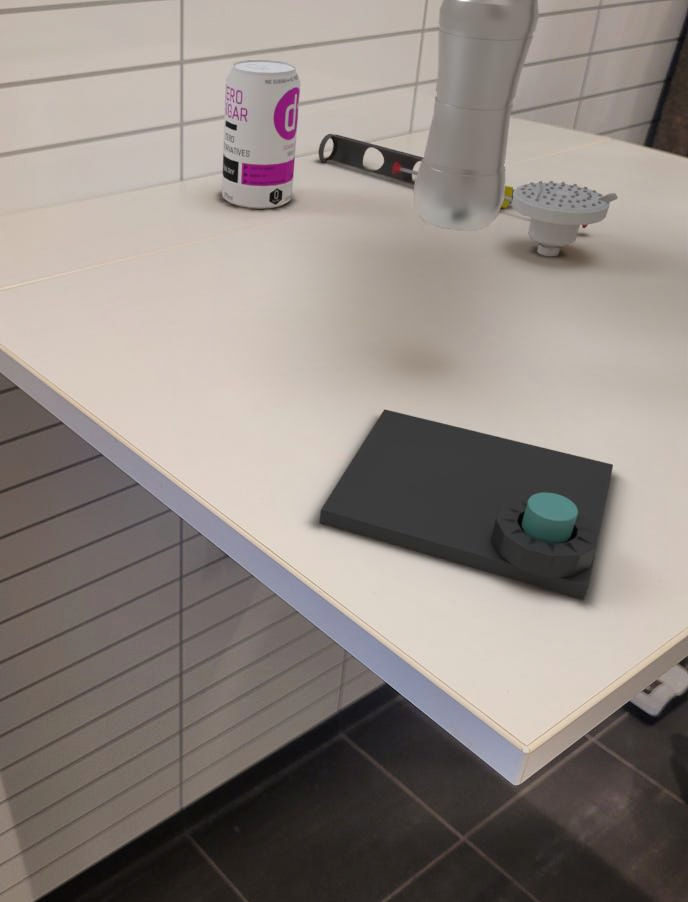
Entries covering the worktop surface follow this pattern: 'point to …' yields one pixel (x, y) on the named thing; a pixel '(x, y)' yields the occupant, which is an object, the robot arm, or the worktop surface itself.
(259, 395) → the worktop surface
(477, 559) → the scale
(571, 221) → the showerhead
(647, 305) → the worktop surface
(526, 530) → the button
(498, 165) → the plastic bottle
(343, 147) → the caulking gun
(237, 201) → the supplement can
